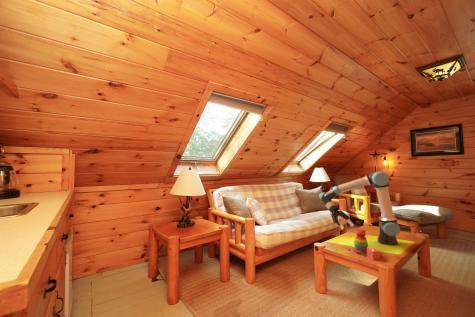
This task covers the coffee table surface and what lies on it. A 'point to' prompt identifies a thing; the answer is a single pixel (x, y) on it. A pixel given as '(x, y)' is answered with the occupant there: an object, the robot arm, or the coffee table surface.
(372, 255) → the red die
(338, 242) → the coffee table surface
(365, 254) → the game track
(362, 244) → the stacking bear
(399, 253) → the coffee table surface
